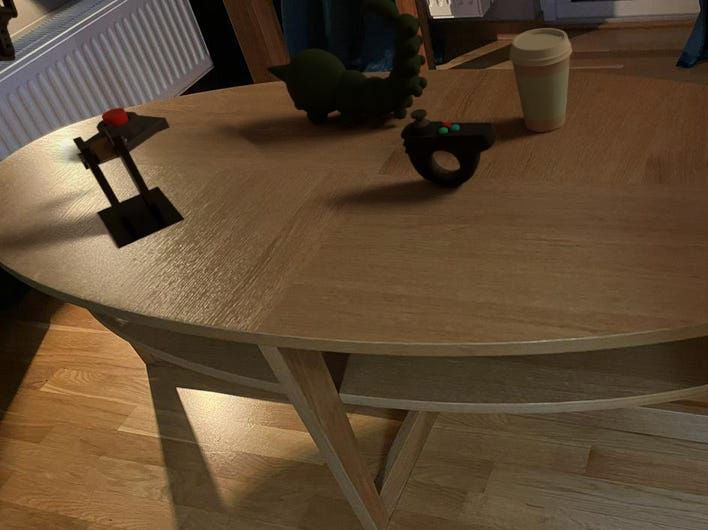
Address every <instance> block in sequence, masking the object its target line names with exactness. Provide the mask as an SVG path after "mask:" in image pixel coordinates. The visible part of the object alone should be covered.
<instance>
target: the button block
mask: <svg viewBox="0 0 708 530" xmlns="http://www.w3.org/2000/svg"><path fill="white" fill-rule="evenodd" d="M125 112H126V114H127V116H128V118H129V121H127V122H126V123H124V124H122V125H119V126H115V127H114V129H115V130H116V131H117V132H118V133H119V135H120V136H121V137H122V136H124V138H125V139H126V141H127V143H128V145H129V147H126V148H127V149H128V151H129V153H130V152H132V151H134V150H135V149H136V148H137V147H139V146H140V145H142V144H143V143H144V142H146V141H148V140H149V139H150V138H152V137H153V136H154V135H156V134H157V133H159V132H162V131H165V130H167V129H170V128H171V127H170V125H169V122H168V121H167V118H166V117H161V116H151V115H141V114H138V113H137V112H136V111H125ZM104 127H106V124H105V122H104V120H103V119H102V120H100V121H99V122H98V123H97V125H96V127H95V128H96V130H97V131H98V132H97V133H96V134H94V135H92V136H91V137H89V138H88V139H86V140H85V141H84V142H85V143H86V145H87V146H88V148H89V149H90V151H91V153H92V154H94V152H93V150H92V149H91V147H90V143H91V142H94V141H97V140H99V139H102V138H104V137H107V138H108V140H109V142H110V143H111V145H112V147H113V144H112V142H111V140H110V138H109V136H108V135H107V133H106V131H105V129H104Z"/></svg>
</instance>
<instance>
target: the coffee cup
mask: <svg viewBox="0 0 708 530" xmlns="http://www.w3.org/2000/svg"><path fill="white" fill-rule="evenodd" d="M572 52H573V48H572V43H571V41H570V40H569V37H568V34H567V33H566V31H564V30H561V29H560V28H559V29H558V28H553V27H545V28H544V27H542V28H534V29H530V30H526V31H523V32H520V33H519V34H517V35H515V36H514V37H513V39H512V41H511V45H510V49H509V55H508V56H509V57H508V58H509V60H510V61H511V63H512V67H513V68H512V69H513V71H514V72H513V73H514V77H515V82H516V87H517V92H518V96H519V101H520V106H521V110H522V115H523V119H524V123H525V127H526V128H527V129H528V130H530V131H532V132H537V133H546V132H552V131H555V130H558V129H559V128H561V127H563V125H564V124H565V123H566V115H567V100H568V85H569V73H570V72H569V70H570V57H571V56H570V55H572Z"/></svg>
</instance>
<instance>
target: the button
mask: <svg viewBox="0 0 708 530" xmlns="http://www.w3.org/2000/svg"><path fill="white" fill-rule="evenodd" d="M126 112H127V111H126V110H125V108H122V107H117V108H116V107H115V108H112V109H109V110H106V111H105V112H104V113H102V115H101V118H102V120H104V122H105V124H106V126H109V125H112V126H113V127H115V126H119V125H122V124H124V123H126V122H127V121H129V118H128V116H127V114H126Z"/></svg>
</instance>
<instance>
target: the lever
mask: <svg viewBox="0 0 708 530" xmlns="http://www.w3.org/2000/svg"><path fill="white" fill-rule="evenodd" d="M90 147H91V149H92V150H93V152H94V154H92V155H93V156H94V158H95V160H96V162H97V163H98V165H99V166H100V165H103V164H105V163H108V162H110V161H112V160H115V159H118V158H120V157H119V155H118V153H117V151H116V149H115V147H114V146H113V147H112V145H111V143H110V142H109V140H108V138H107V137H104V138H102V139H99V140H97V141H94V142H91V143H90ZM82 165H83V167H84V168H85V170H90V168H89V167H88V165H87V163H86V164H82Z"/></svg>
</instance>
